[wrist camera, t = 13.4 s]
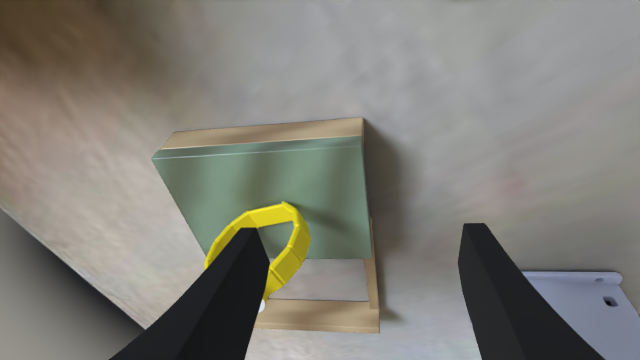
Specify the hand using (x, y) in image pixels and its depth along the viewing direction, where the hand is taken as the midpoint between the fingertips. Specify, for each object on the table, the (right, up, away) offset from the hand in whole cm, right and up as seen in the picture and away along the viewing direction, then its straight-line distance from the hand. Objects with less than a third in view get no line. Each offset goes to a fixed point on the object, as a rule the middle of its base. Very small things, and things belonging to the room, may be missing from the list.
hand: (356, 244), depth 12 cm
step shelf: (-3, -2, +14) cm, 15 cm away
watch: (-4, 0, +9) cm, 10 cm away
